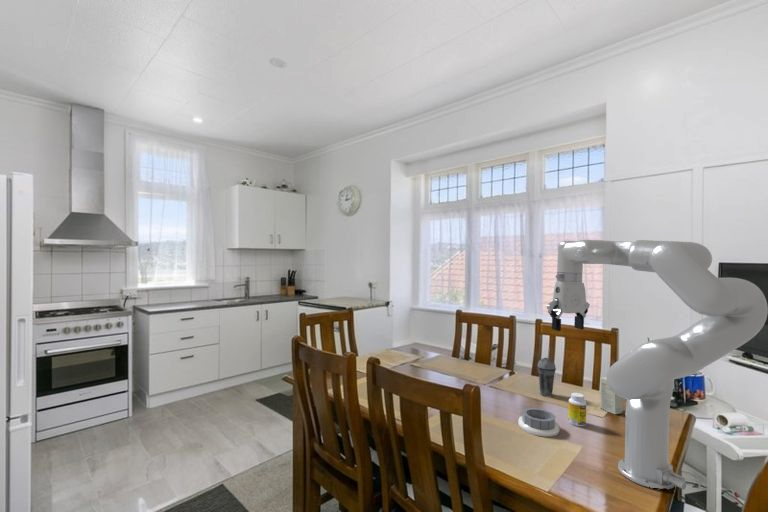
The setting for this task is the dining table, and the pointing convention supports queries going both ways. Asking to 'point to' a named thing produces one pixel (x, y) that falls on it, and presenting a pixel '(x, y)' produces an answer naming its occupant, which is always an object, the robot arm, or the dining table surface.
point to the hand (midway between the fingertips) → (567, 329)
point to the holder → (538, 422)
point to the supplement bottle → (577, 410)
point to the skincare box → (610, 398)
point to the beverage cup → (546, 375)
